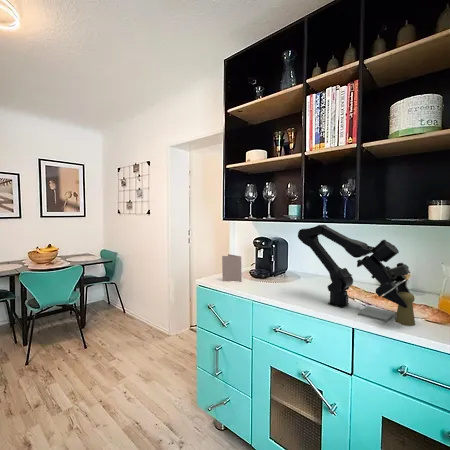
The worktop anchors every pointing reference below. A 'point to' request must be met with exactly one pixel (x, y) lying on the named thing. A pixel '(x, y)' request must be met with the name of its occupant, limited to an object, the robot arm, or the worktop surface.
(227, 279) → the greeting card
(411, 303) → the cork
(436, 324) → the worktop surface
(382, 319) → the plate
